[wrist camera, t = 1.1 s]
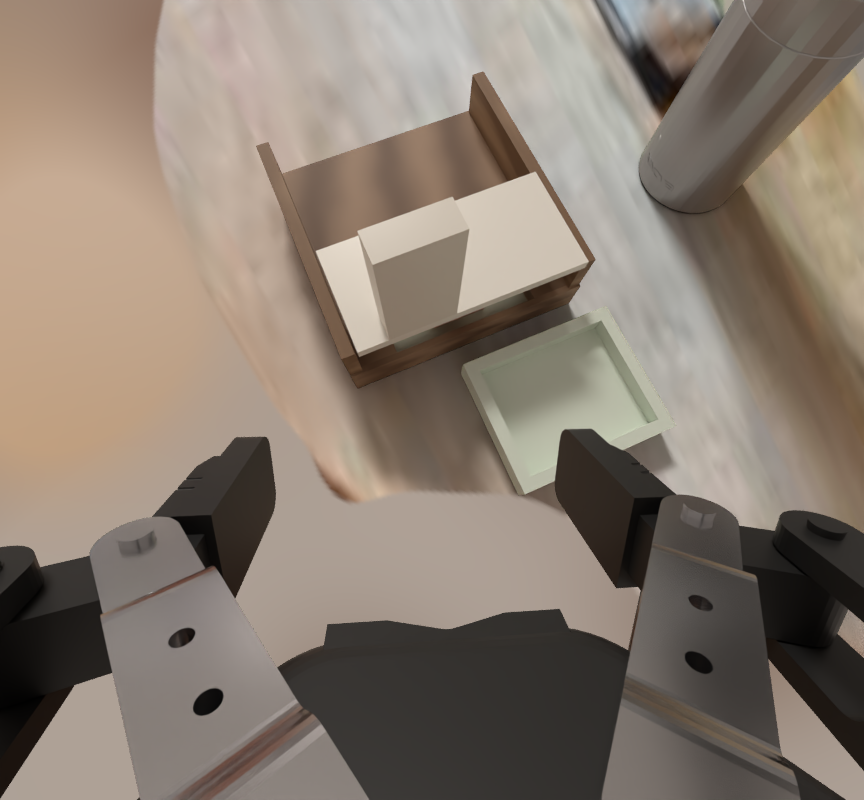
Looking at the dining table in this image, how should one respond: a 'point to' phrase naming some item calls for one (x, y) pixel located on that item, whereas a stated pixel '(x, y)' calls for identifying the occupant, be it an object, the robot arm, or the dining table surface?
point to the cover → (448, 261)
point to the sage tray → (563, 395)
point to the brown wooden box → (407, 191)
